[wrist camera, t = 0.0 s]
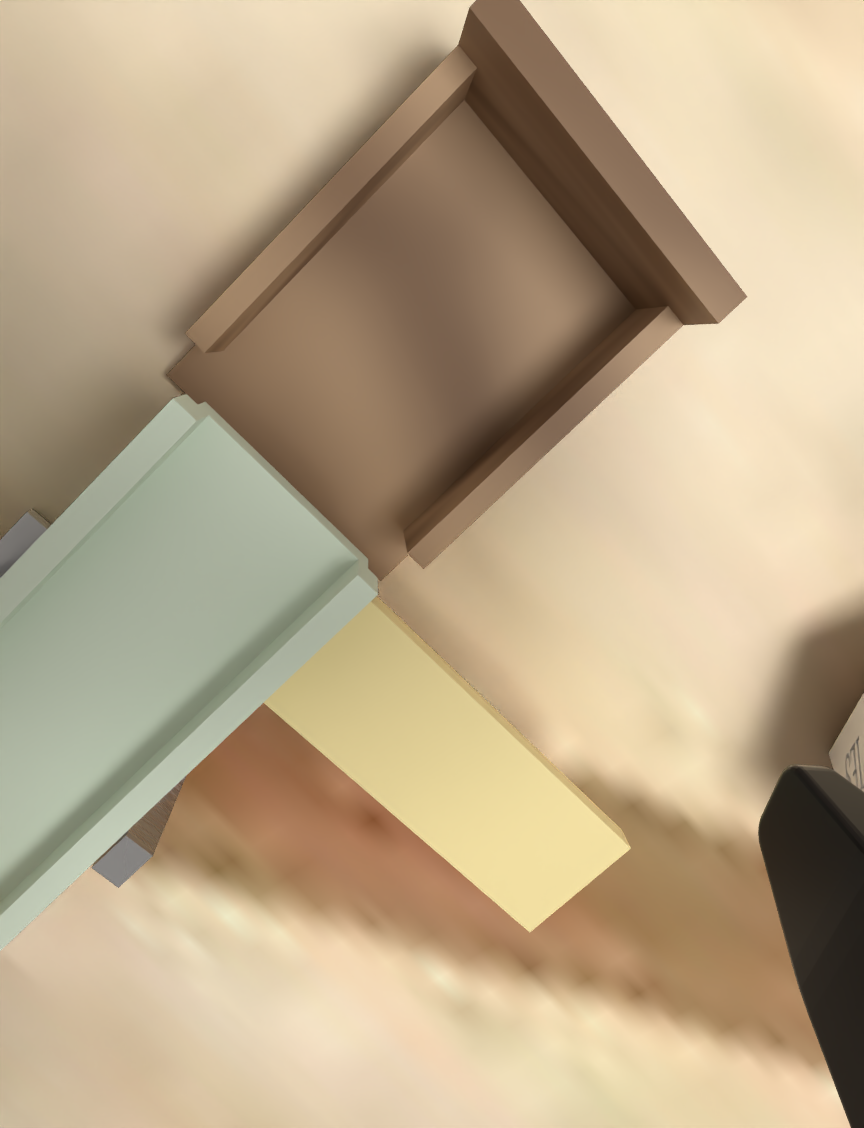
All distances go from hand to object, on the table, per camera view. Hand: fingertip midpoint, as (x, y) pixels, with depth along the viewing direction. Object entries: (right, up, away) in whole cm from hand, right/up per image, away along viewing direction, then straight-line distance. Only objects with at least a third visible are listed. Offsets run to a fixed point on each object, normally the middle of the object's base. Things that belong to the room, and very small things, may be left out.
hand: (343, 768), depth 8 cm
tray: (+1, +8, +14) cm, 16 cm away
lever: (-6, -6, +13) cm, 15 cm away
